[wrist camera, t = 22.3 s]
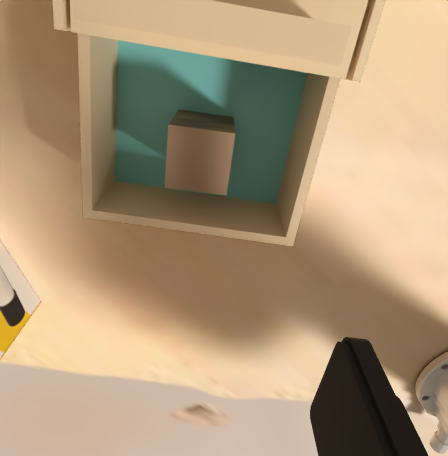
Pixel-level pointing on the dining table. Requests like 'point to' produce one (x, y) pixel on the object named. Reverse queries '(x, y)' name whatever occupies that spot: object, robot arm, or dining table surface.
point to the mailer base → (205, 103)
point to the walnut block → (199, 152)
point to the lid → (239, 29)
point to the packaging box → (13, 300)
